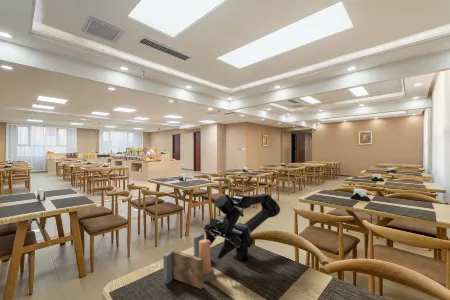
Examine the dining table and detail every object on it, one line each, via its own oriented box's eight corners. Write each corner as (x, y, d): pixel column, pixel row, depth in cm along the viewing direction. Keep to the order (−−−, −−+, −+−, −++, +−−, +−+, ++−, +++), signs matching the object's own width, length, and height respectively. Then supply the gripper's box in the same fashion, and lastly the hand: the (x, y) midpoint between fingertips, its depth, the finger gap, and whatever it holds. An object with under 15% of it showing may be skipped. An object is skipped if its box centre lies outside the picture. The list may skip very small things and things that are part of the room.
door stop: (205, 269, 88) (205, 236, 88) (218, 275, 84) (217, 241, 84) (192, 276, 83) (191, 242, 83) (204, 284, 78) (204, 247, 78)
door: (168, 278, 82) (167, 252, 82) (172, 275, 84) (172, 249, 84) (199, 290, 74) (198, 261, 74) (203, 286, 77) (203, 258, 77)
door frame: (201, 254, 101) (201, 232, 101) (204, 255, 100) (204, 233, 100) (164, 282, 80) (163, 255, 80) (166, 284, 79) (166, 256, 79)
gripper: (206, 205, 96) (185, 237, 88) (235, 214, 82) (214, 253, 75) (219, 219, 101) (201, 250, 94) (250, 229, 88) (231, 266, 80)
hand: (211, 254), depth 86 cm, fingers open, 9 cm apart
